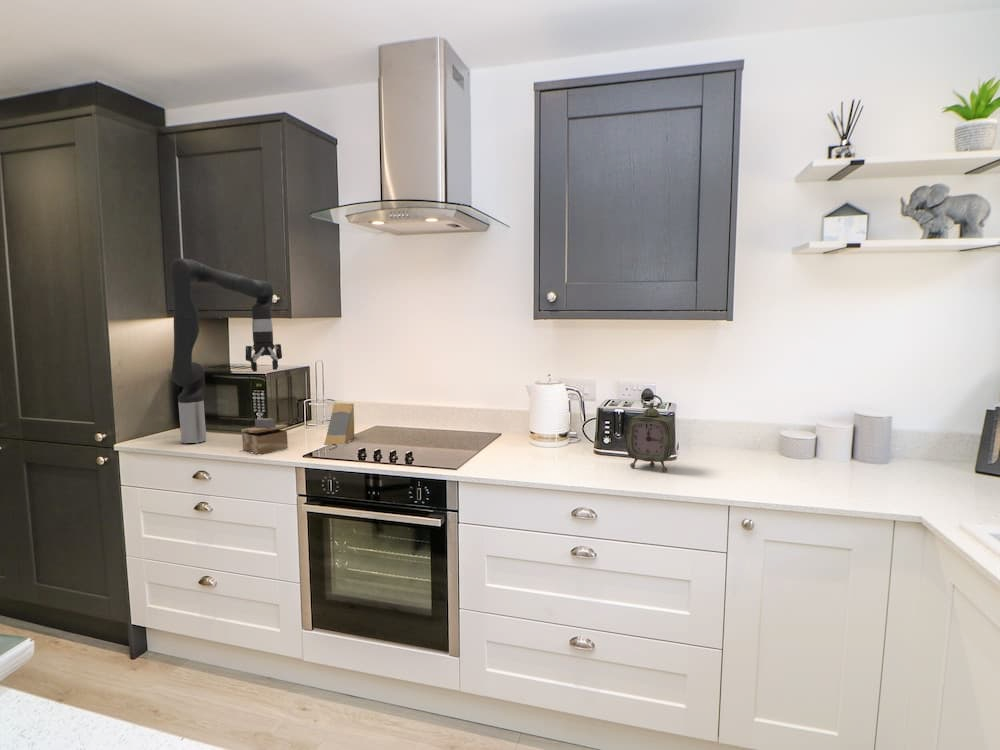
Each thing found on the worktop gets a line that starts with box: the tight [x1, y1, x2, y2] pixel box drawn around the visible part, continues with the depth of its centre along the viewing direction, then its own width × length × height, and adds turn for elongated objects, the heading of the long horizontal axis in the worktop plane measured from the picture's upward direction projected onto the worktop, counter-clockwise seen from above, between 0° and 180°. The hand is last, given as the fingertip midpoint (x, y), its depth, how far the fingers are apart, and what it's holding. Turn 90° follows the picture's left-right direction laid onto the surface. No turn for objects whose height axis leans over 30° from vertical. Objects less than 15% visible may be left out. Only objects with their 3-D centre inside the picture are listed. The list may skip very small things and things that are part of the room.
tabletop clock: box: [625, 394, 676, 473], centre depth 191 cm, size 14×9×25 cm, turn 59°
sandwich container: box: [323, 402, 355, 446], centre depth 236 cm, size 9×15×15 cm, turn 178°
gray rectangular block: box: [254, 417, 276, 428], centre depth 223 cm, size 10×3×3 cm, turn 50°
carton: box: [241, 429, 289, 455], centre depth 224 cm, size 12×12×7 cm
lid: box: [240, 424, 288, 433], centre depth 223 cm, size 12×12×1 cm
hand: (265, 370), depth 232 cm, fingers open, 8 cm apart
